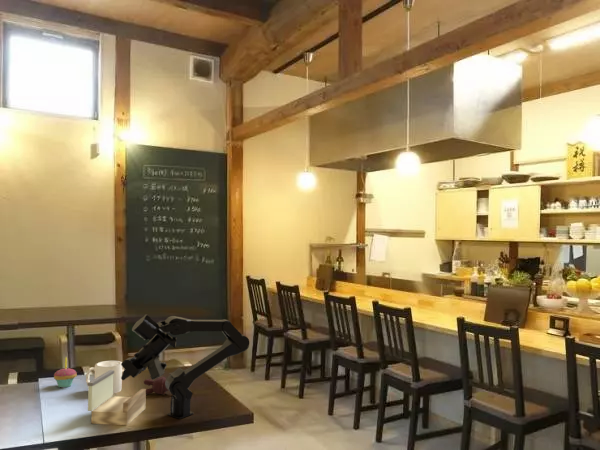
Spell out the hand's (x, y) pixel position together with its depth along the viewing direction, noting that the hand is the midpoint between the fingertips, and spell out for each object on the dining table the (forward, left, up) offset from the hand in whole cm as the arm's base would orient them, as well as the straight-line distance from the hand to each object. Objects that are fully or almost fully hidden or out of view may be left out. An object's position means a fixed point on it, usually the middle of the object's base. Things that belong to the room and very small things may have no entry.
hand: (122, 379), depth 171 cm
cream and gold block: (+1, 0, -13) cm, 13 cm away
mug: (+30, -15, -13) cm, 36 cm away
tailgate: (+6, +3, -9) cm, 11 cm away
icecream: (+9, -25, -13) cm, 30 cm away
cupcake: (+48, -9, -13) cm, 51 cm away
